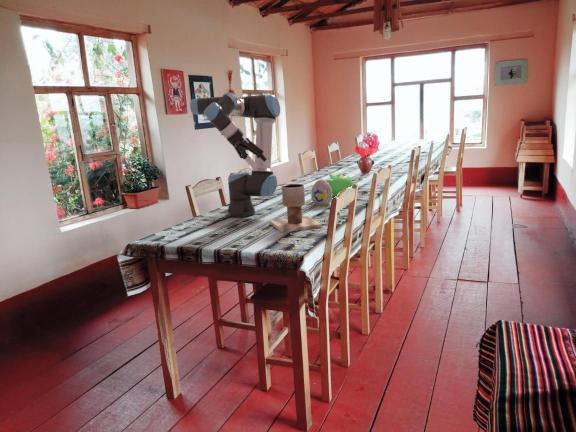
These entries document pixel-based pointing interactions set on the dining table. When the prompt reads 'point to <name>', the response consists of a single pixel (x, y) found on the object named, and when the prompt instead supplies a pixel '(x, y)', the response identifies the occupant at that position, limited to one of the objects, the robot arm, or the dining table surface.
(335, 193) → the toy bird
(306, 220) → the square base plate
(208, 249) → the dining table surface
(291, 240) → the dining table surface
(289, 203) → the planter
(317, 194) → the decorative egg
